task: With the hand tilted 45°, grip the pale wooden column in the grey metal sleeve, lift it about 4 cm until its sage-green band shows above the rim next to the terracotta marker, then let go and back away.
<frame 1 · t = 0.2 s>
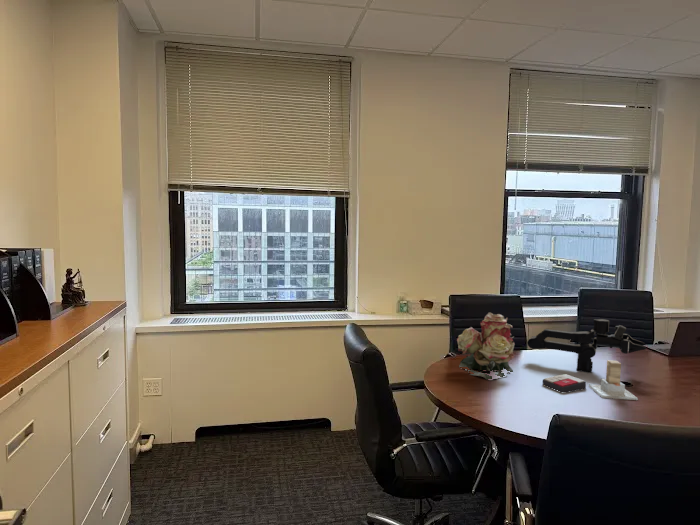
hand: (645, 346, 208), 17 cm above the table, tool horizontal, fingers open, 9 cm apart
column: (613, 376, 190), point 8 cm above the table, slide at 0.0 cm
rose bouquet: (488, 372, 216), on the table
calculator: (563, 388, 197), on the table
sleeve stand: (612, 393, 191), on the table
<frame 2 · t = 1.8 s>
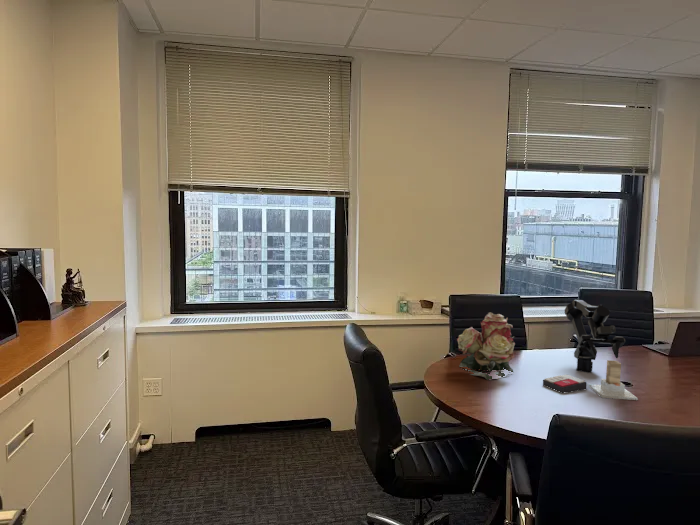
hand: (606, 357, 198), 14 cm above the table, tool tilted 45°, fingers open, 9 cm apart
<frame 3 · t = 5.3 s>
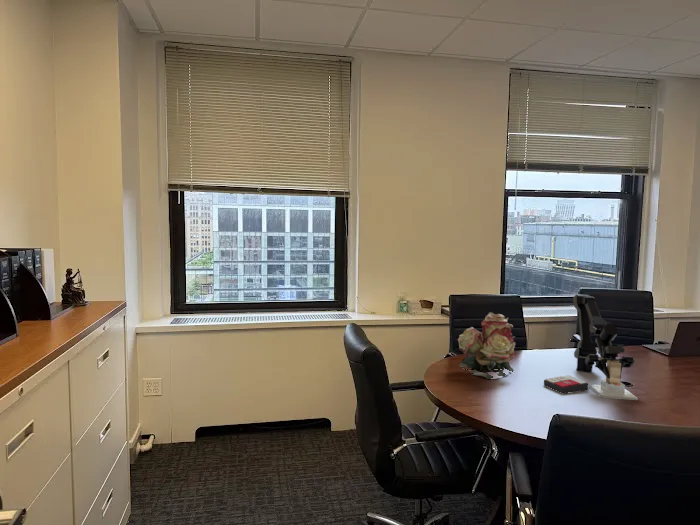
hand: (614, 378, 189), 7 cm above the table, tool tilted 45°, fingers closed on column, 4 cm apart
column: (613, 376, 190), point 8 cm above the table, slide at 0.0 cm, touching gripper
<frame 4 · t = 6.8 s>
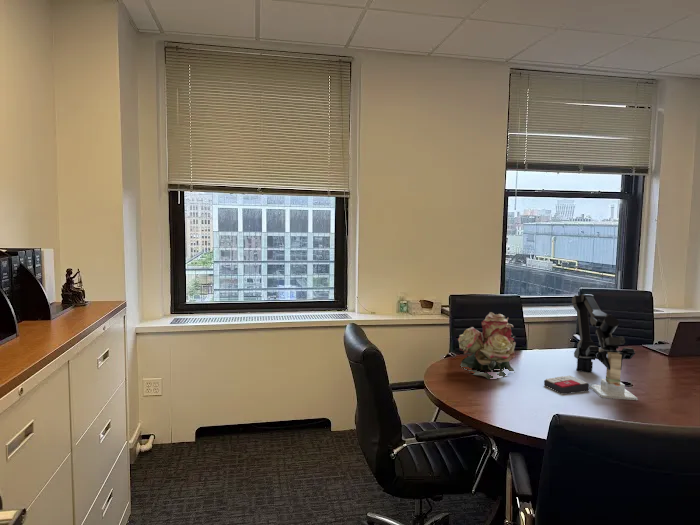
hand: (615, 369, 189), 11 cm above the table, tool tilted 45°, fingers closed on column, 4 cm apart
column: (613, 367, 190), point 11 cm above the table, slide at 3.8 cm, touching gripper
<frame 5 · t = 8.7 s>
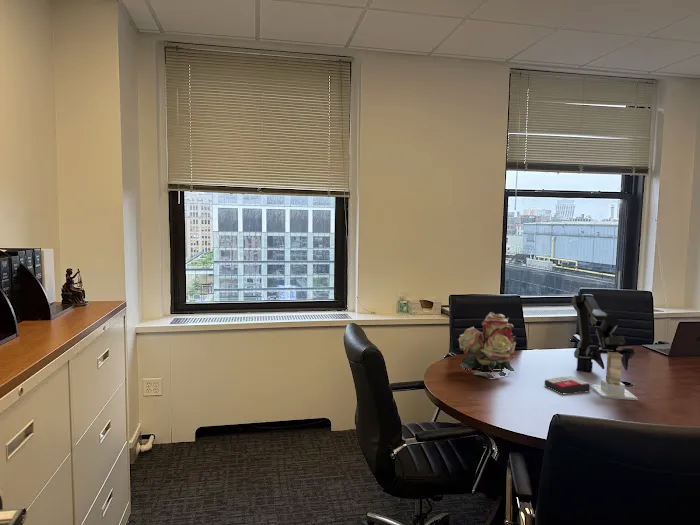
hand: (615, 369, 188), 11 cm above the table, tool tilted 45°, fingers open, 9 cm apart
column: (613, 367, 190), point 11 cm above the table, slide at 3.9 cm
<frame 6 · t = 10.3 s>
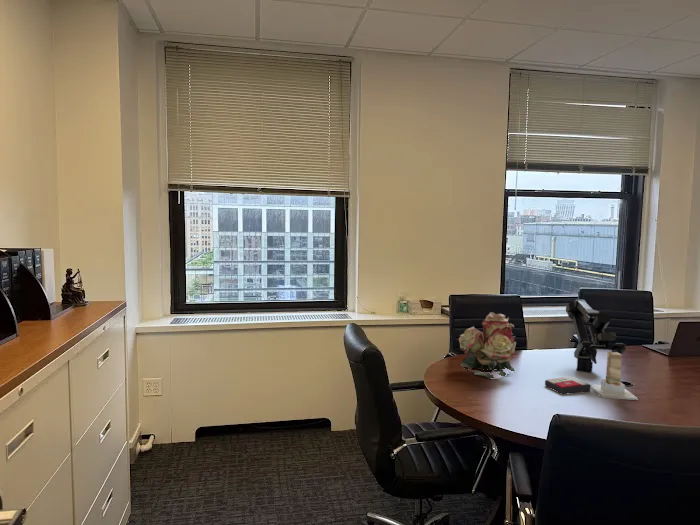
hand: (606, 364, 197), 11 cm above the table, tool tilted 45°, fingers open, 9 cm apart
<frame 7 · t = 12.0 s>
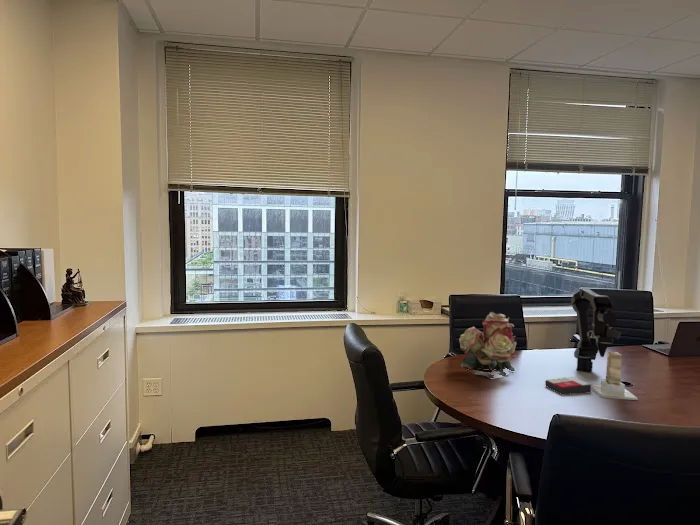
hand: (599, 354, 205), 13 cm above the table, tool pointing down, fingers open, 9 cm apart
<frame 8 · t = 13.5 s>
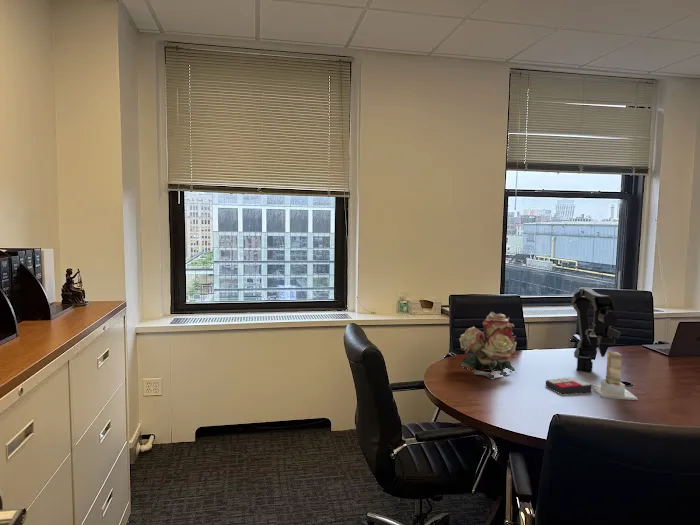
hand: (598, 354, 206), 13 cm above the table, tool pointing down, fingers open, 9 cm apart
at the end: column slide at 3.9 cm; the gripper is holding nothing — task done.
